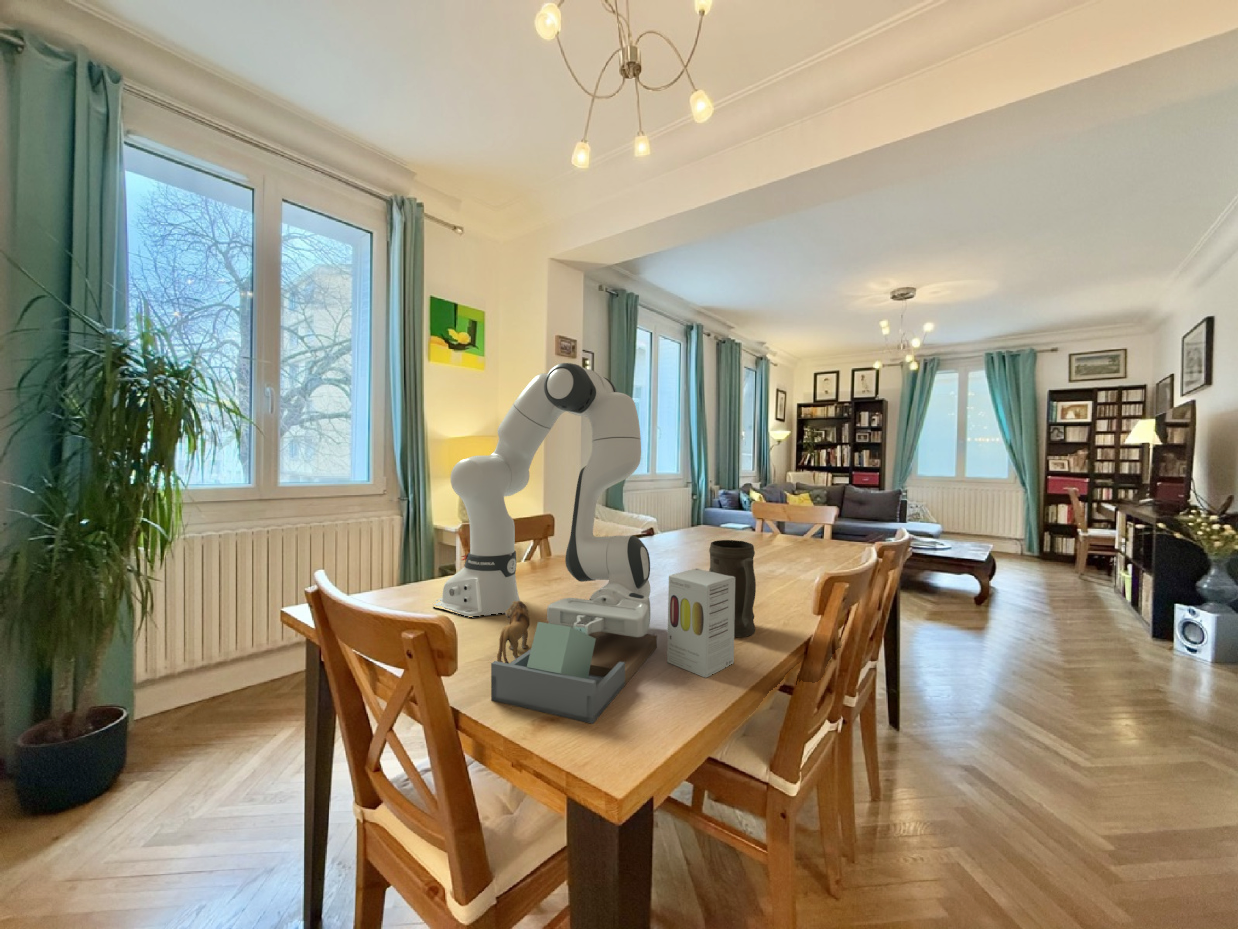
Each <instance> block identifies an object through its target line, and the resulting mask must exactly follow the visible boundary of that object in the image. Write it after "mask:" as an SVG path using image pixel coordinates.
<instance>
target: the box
mask: <svg viewBox="0 0 1238 929" xmlns="http://www.w3.org/2000/svg"><path fill="white" fill-rule="evenodd" d="M530 652H531V648H530V649H528V650H527V651H526V652H524V653H523V654H521V655H519V656H520V657H518V658H517V659H515V658H514V660H513V661H511V662H509V664H508V663H505V662H498V661H497V660H495V661H493V662H491V664H490V669H491V671H490V681H491V685H490V688H491V689H490V690H491V691H490V692H491V693H490V694H491V696H490V700H491V701H493V702H497V703H501V704H506V705H509V706H510V705H511V706H514V707H518V708H523V709H527V710H532V711H536V712H541V713H545V714H548V715H553V716H558V717H563V718H566V719H570V720H575V721H580V722H584V723H588V724H594V723H595V722H596V721H597V719H599V717H600V716H601V715H602V714H603V713H604V711H605V710H606V709H607V708H608V706H609V705H610V704H611V703H612V702H613V700H614V699H615V698H616V697H617V696H618V695H619V693H620V692H621V691H622V689H624V687H625V686H626V685H625V662H619V663H618V664H617V665H616V666H615V667H614V668H613V669H612V670H611V671H610V672H609V673H608V674H607V675H606V676H605V677H602V676H597V675H591V674H589V675H588V679H585V678H580V677H575V676H570V675H564V674H559V673H554V672H549V671H544V670H539V669H534V668H528V667H527V664H528V660H529V656H530Z"/></svg>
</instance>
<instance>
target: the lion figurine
mask: <svg viewBox="0 0 1238 929" xmlns="http://www.w3.org/2000/svg"><path fill="white" fill-rule="evenodd" d="M504 614H505V616H506V617H507V619H508V620H509V624H507V625H505V626H504V627H503V628H502V630H501V632H500V636H499V646H498V651H497V655H496V658H497V660H496V661H498V662H503V661H504V662H503V663H508V664H509V663H510V662H509V661H508V658H507V651H506V650H507V648H506V647H507V646H506V645H507V643H508V642H509V644H510V645H509V646H508V649H509V648H510V649H509V650H512V656H513V658H514V660H515V659H517V658H518V657H520V656H521V655H519V654H518V649H519V640H520V639H522V641H521V648H522V649H528V648H529V645H528V644H527V643H528V635H529V634H528V629H529V627H530V616H529V610H528V609H527V606H526V604H525V603H524V602H522V601H521V600H520V601H513V604H511V606H510V608H509V609H508V610H506V611H505V613H504ZM527 647H528V648H527ZM502 657H503V660H502Z"/></svg>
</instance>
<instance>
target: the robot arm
mask: <svg viewBox="0 0 1238 929" xmlns="http://www.w3.org/2000/svg"><path fill="white" fill-rule="evenodd" d="M565 412H568V413H569V414H572V415H575V416H578V417H586V418H587V419H588V420H589V422H590V425H591V444H592V445H591V446H592V447H591V453H590V457H589V459H588V461H587V463H586V465H585V466H584V467H582V468H581V469H580V471H579V474H578V479H577V481H576V482H577V484H576V489H575V490H576V491H575V495H574V505H573V513H572V521H571V527H570V528H571V530H570V535H569V539H568V545H567V547H566V552H565V560H564V562H565V567H566V569H567V571H568V572H569V573H570V575H571V576H572V577H573V578H574V579H575V580H577V581H578V582H580V583H583V582H593V581H595V582H596V581H608V583H607V584H605V585H603V586H602V587H600V588H599V589H597V590H596V591H594V592H593V593H592V594H591V595H590V597H589V599H583V598H577V597H565V598H561V599H558V600H556V601H554V602H551V603H549V604H548V605H547V609H546V619H547V623H550V624H556V625H563V626H569V627H572V628H574V629H576V630H579V631H581V632H583V633H585V634H587V635H589V634H591V633H594V632H606V633H612V634H618V635H625V636H631V637H643V636H644V635H645V634H648V632H649V629H650V625H651V599H650V596H651V583H650V581H649V578H650V575H651V561H650V560H651V559H650V553H649V550H648V548H647V547H646V545H645V543H644V542H642V540H641V539H640V538H639V537H637V535H612V536H611V535H610V536H594V525H595V519H596V518H595V517H596V510H597V509H596V508H597V502H598V499H599V497H600V496H601V495H602V493H604V492H605V491H606V490H607V489H609V488H611V487H612V486H614V485H617V484H619V483H620V482H623V481H624V480H626V479H628V478H629V477H630V476H631V475H632V474H634V472H635V471H636V470H637V469H638V467H639V465H640V463H641V459H642V440H641V439H642V438H641V428H640V421H639V415H638V411H637V407H636V403H635V400H634V399H633V398H632V397H631V396H630V395H628V394H626V393H623V392H618V390H617V388H616V387H615V385H614V384H613V383H612V382H611V380H609V379H608V378H606V377H604V376H603V375H601V374H600V373H598V372H597V371H595V370H592V369H588V368H586V367H583V366H580V365H579V364H576V363H573V362H572V363H571V362H563V363H562V362H561V363H559V364H557V365H554V366H553V367H552V368H551V369H550V370H549V371H548V373H543V372H542V373H539V374H537V375H535V377H534V378H532V380H530V381H529V383H528V384H527V385H526V386H525V387H524V388H523V390H522V391H520V393H519V395H518V396H517V398H516V399H515V401H514V402H513V403H512V405H511V407H510V408H509V410H508V411H507V413H506V414H505V415H504V417H503V419H502V421H501V422H500V424H499V426H498V428H497V436H498V440H497V444H496V447H495V450H494V451H493V452H492V453H491V454H489V455H473V456H470V457H466V458H465V459H461V460H460V461H458V462H457V463H455V465H454V466H453V468H452V470H451V472H450V473H451V474H450V484H451V488H452V490H453V491H454V493H456V495H457V497H459V498H460V499H461V500H462V503H463V504H464V508H465V510H466V513H467V517H468V524H469V542H470V544H469V545H470V546H469V547H470V550H469V552H468V553H467V554H465V555H461V556H460V557H461V558H462V559H460V561H465V562H464V566H463V567H462V568H461V569H460V570H459V571H458V572H456V573H455V574H454V575H453V576H451V577H450V578H448V579H447V580H446V581H445V583H444V586H443V588H442V595H441V597H440V598H438V599H436V600H435V601H434V602H437V601H438V600H440V601H441V602H438V603H436V604H434V605H436V606H442V607H444V608H445V609H449V610H452V611H454V612H457V613H460V614H462V615H464V616H463V617H465V616H479V617H481V616H480V615H484V616H492V615H491V614H496V615H499V614H498V613H502V614H505V611H506V610H508V609H509V608H510V606H511V604H513V601H521V600H520V595H519V592H518V587H517V586H518V585H517V576H516V571H517V551H516V549H515V548H516V547H515V539H516V538H515V530H516V529H515V521H514V519H513V518H512V517H511V515H510V514H509V512H508V510H507V507H506V502H505V497H511V496H513V495H515V494H517V493H519V492H521V491H522V490H524V489H525V488H527V485H528V483H529V480H530V467H531V465H532V463H533V459H534V457H535V455H536V453H537V451H538V450H539V448H540V446H541V445H542V444H543V442H544V440H545V439H546V437H547V436H548V434H549V433H550V431H551V430H552V428H553V426H554V425H555V423H556V422H557V420H558V419H559V418H560V416H561V415H562V414H564V413H565Z"/></svg>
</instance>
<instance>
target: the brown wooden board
mask: <svg viewBox="0 0 1238 929" xmlns="http://www.w3.org/2000/svg"><path fill="white" fill-rule="evenodd" d="M589 636H591V637H593V638H595V639H596V640H595V645H594V650H593V655H592V660H591V665H590V670H589V674H591V675H597V676H602V677H605V676H606V675H607V674H608V673H609V672H610V671H611V670H612V669H613V668H614V667H615V666H616V665H617V664H618V663H619V662H625V686H626V685H627V684H628V682H629V681H630V680H631V678H633V676H634V675H635V674H636V673H637V671H638V670H640V668H641V667H642V665H643V664H644V663H646V661H647V659H648V658H649V657H650V656H651V655H652V654H653V653H654V651H655V650H656V649H657V647H658V646H657V642H658V640H657V639H658V638H657V635H656V634H651V633H646V634H645V635H644V636H643V637H631V636H625V635H618V634H612V633H606V632H594V633H591V634H589Z"/></svg>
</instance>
